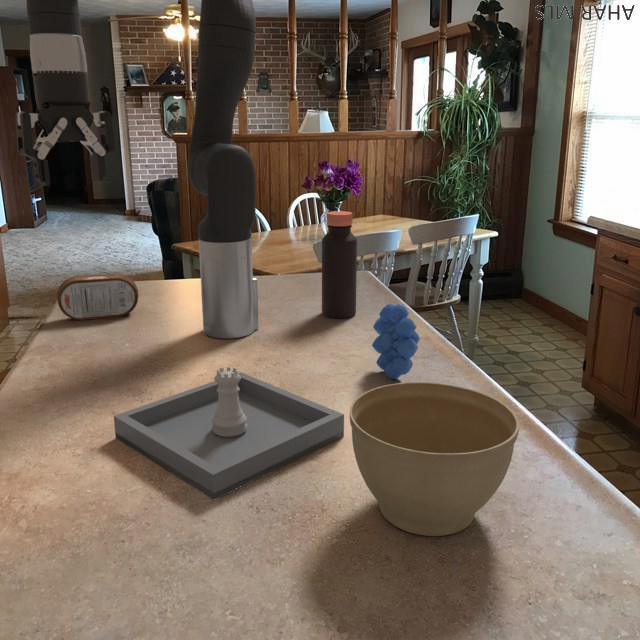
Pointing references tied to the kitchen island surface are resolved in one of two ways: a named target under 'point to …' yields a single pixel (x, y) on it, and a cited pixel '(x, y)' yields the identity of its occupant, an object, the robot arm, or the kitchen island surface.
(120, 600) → the kitchen island surface
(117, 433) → the tray
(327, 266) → the bottle
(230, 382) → the rook chess piece
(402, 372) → the grapes
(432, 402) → the planter bowl
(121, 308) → the tin
